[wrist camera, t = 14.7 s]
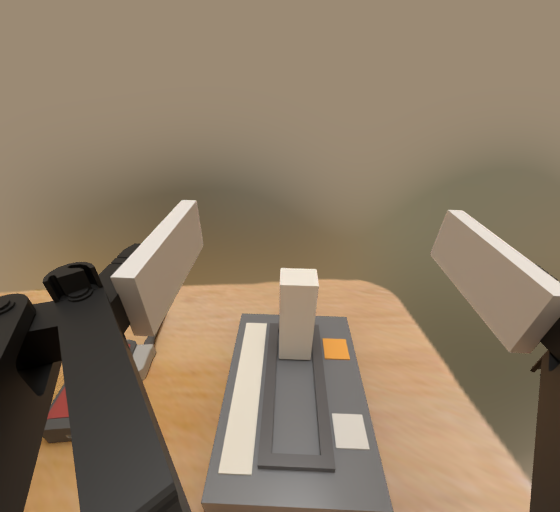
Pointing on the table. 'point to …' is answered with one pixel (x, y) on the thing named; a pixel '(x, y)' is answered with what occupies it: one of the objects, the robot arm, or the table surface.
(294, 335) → the lever
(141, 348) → the walkie-talkie
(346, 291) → the table surface
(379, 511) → the switch box
